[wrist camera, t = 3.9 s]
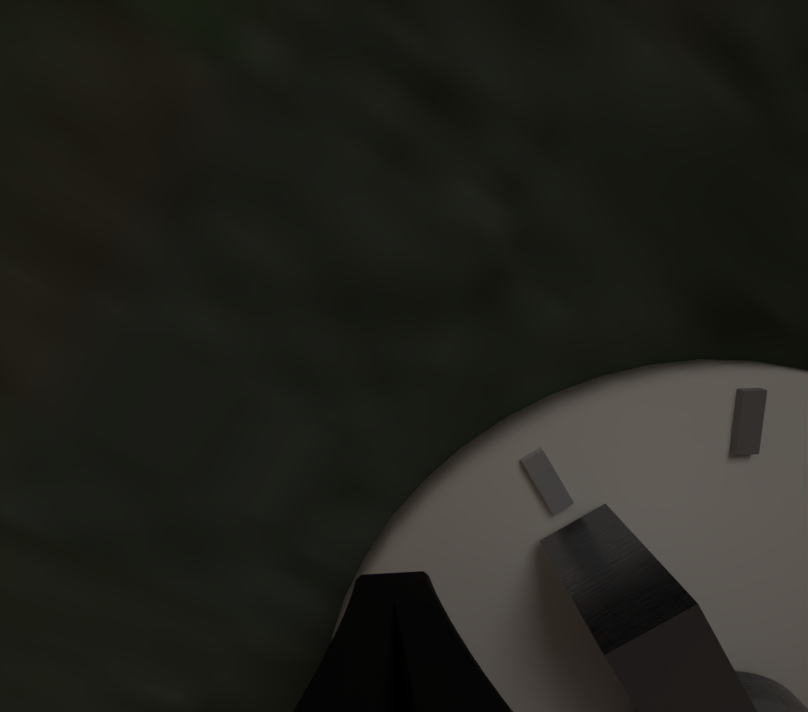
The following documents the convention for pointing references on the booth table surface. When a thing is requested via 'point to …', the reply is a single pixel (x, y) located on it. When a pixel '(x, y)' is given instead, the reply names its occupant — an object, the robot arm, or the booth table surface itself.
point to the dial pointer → (652, 624)
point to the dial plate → (637, 508)
